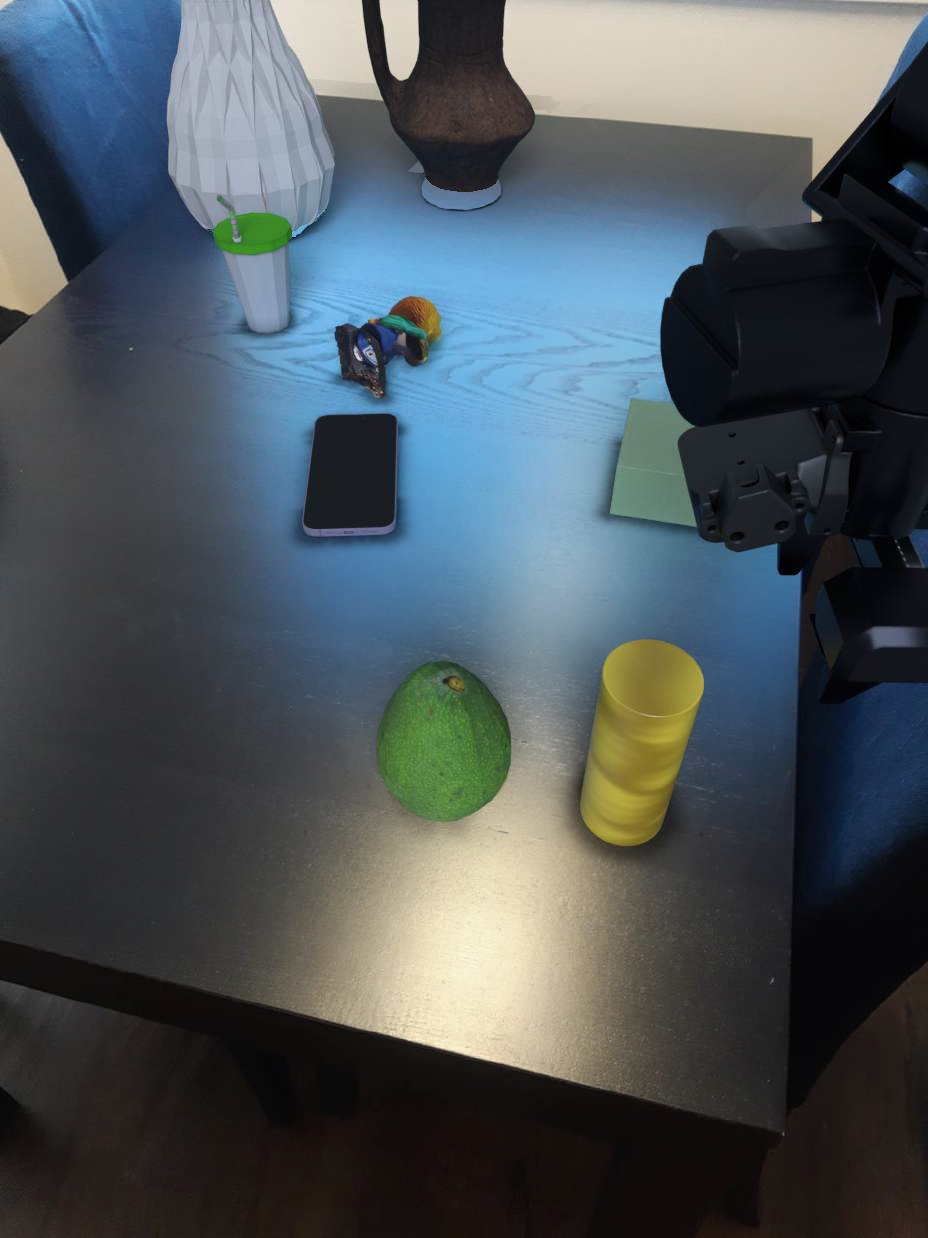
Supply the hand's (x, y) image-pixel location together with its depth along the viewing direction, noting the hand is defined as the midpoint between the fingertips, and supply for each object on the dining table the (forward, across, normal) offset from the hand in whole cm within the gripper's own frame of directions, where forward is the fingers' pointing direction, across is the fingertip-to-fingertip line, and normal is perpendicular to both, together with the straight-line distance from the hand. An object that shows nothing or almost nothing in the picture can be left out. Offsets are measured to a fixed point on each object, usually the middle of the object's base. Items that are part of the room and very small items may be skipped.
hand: (806, 633), depth 47 cm
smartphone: (+13, -30, -29) cm, 43 cm away
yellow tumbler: (+13, +3, -9) cm, 16 cm away
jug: (+13, -92, -22) cm, 95 cm away
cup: (+13, -56, -41) cm, 71 cm away
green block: (+13, -29, -1) cm, 32 cm away
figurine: (+13, -48, -27) cm, 56 cm away
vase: (+13, -81, -46) cm, 94 cm away
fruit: (+13, +2, -20) cm, 24 cm away
